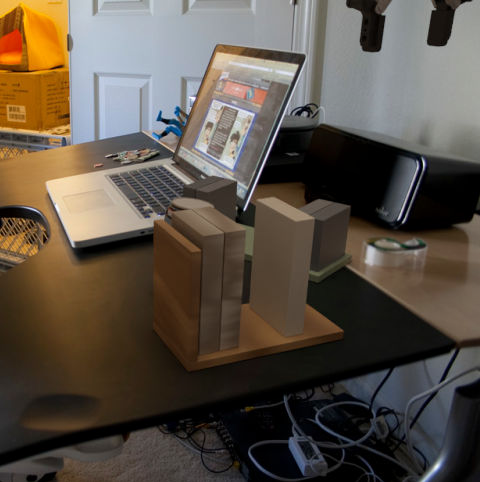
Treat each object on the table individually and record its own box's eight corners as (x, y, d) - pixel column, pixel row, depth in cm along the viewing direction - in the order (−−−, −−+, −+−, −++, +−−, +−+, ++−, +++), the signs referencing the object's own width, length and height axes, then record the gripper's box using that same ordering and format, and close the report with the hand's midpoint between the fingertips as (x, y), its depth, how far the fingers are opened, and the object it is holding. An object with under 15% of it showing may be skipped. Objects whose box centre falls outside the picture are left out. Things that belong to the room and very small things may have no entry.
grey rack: (351, 261, 85) (359, 205, 82) (317, 283, 80) (324, 223, 77) (211, 221, 101) (213, 173, 98) (174, 237, 96) (175, 186, 93)
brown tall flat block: (265, 303, 73) (274, 196, 68) (303, 333, 67) (315, 218, 62) (248, 307, 73) (256, 199, 68) (284, 337, 66) (295, 221, 61)
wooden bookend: (293, 301, 75) (304, 189, 70) (343, 339, 67) (359, 215, 62) (152, 329, 71) (153, 211, 66) (188, 372, 63) (191, 241, 58)
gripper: (456, -117, 68) (430, 42, 74) (342, -117, 64) (325, 50, 70) (520, -129, 61) (486, 47, 67) (396, -129, 57) (372, 57, 64)
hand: (403, 48), depth 69 cm, fingers open, 8 cm apart
